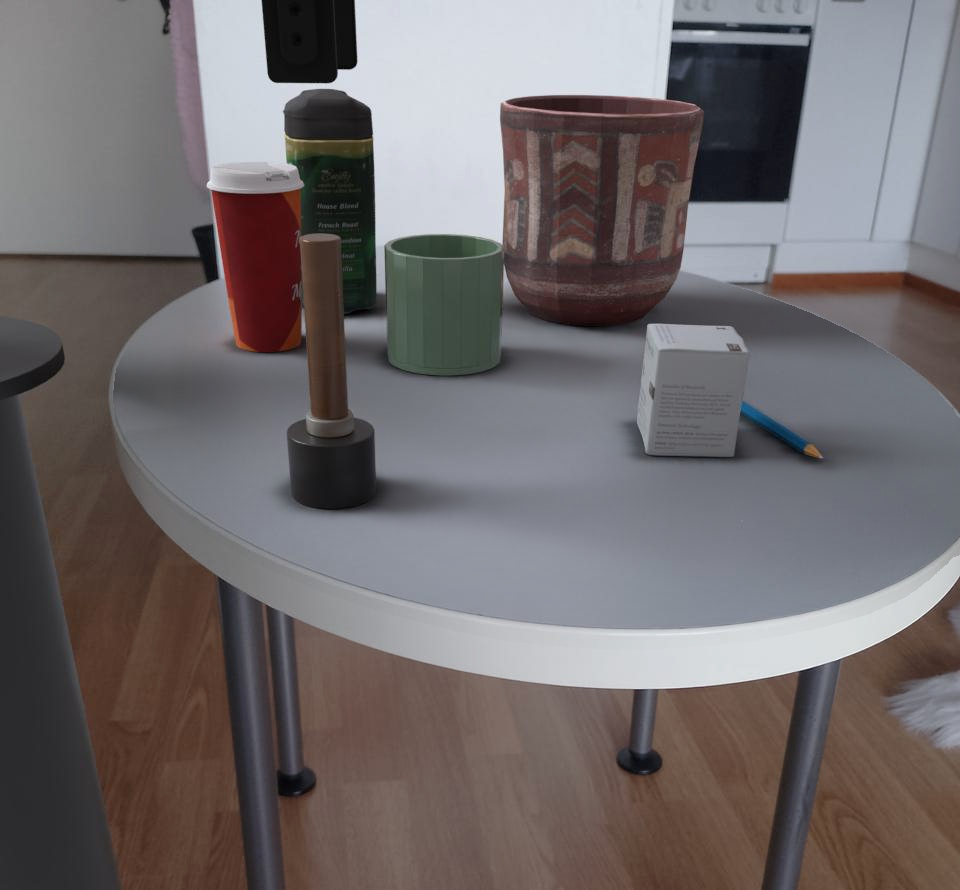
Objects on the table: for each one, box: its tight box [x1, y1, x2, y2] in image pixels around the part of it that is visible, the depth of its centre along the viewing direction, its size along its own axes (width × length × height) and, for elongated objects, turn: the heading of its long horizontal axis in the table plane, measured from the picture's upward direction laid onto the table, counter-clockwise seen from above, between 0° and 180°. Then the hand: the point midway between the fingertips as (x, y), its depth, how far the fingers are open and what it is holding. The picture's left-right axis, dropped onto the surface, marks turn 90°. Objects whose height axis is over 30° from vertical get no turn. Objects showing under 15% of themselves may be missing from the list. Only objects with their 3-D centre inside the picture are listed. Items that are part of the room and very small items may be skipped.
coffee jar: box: [282, 88, 377, 315], centre depth 100 cm, size 10×8×19 cm
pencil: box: [740, 400, 824, 459], centre depth 79 cm, size 1×17×1 cm, turn 19°
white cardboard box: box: [636, 323, 751, 458], centre depth 73 cm, size 6×6×7 cm
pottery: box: [499, 94, 705, 327], centre depth 100 cm, size 18×18×18 cm
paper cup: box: [206, 161, 304, 353], centre depth 90 cm, size 8×8×14 cm
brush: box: [286, 233, 377, 510], centre depth 63 cm, size 5×5×15 cm
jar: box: [383, 233, 505, 377], centre depth 88 cm, size 9×9×9 cm
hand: (316, 75), depth 55 cm, fingers open, 9 cm apart
